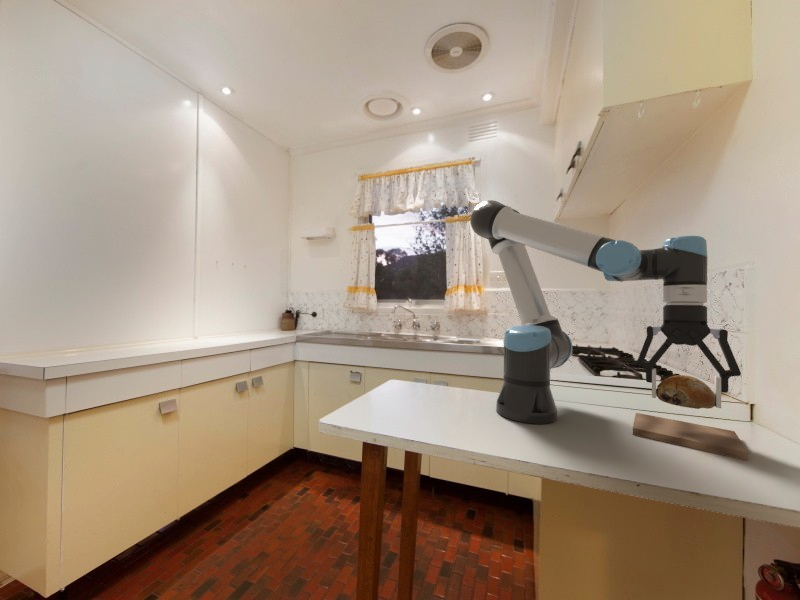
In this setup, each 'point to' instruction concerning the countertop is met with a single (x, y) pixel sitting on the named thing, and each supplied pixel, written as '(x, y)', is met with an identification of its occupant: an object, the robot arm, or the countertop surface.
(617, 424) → the countertop surface
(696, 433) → the cutting board
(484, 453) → the countertop surface
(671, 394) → the bread roll
